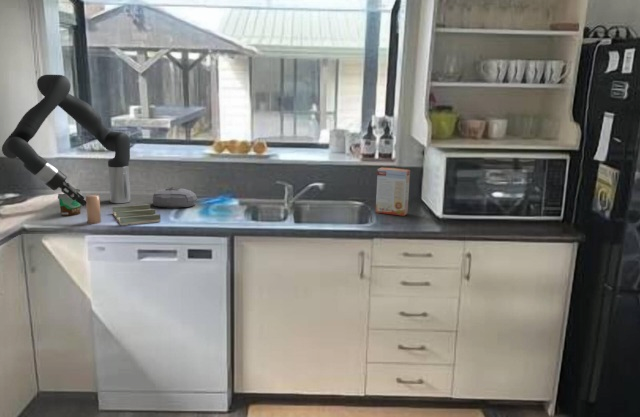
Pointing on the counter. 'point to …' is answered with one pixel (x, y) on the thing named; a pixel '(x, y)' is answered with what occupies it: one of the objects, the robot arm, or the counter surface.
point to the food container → (69, 205)
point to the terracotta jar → (93, 209)
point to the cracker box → (392, 191)
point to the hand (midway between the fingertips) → (83, 201)
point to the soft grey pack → (174, 198)
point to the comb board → (135, 214)
